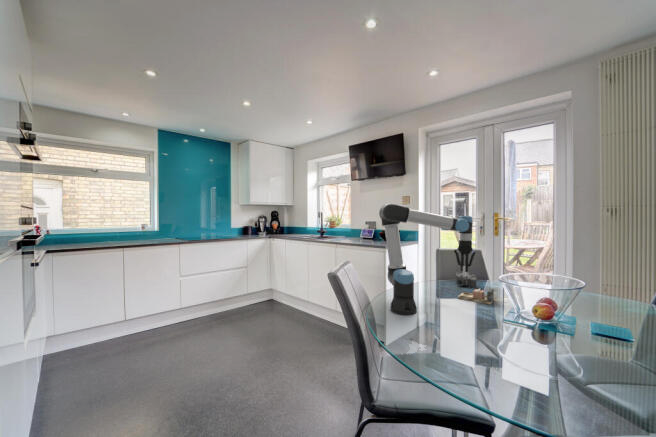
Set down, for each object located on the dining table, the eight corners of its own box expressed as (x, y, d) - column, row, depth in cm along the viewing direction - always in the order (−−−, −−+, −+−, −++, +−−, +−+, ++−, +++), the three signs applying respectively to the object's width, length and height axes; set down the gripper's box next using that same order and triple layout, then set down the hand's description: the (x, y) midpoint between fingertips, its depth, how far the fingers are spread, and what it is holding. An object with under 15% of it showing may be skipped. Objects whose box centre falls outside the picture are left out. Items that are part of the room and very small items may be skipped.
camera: (450, 284, 202) (450, 271, 202) (459, 283, 206) (459, 270, 206) (468, 289, 187) (468, 275, 187) (478, 288, 191) (478, 274, 191)
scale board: (457, 298, 167) (457, 287, 167) (462, 294, 176) (462, 283, 176) (490, 304, 156) (490, 292, 155) (493, 300, 164) (493, 288, 164)
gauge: (472, 297, 163) (472, 290, 163) (475, 295, 169) (475, 288, 169) (482, 299, 160) (482, 291, 160) (484, 296, 166) (484, 289, 166)
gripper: (452, 239, 170) (451, 275, 171) (475, 241, 162) (474, 279, 162) (456, 238, 176) (455, 274, 176) (478, 240, 168) (477, 277, 168)
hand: (464, 276), depth 169 cm, fingers closed
